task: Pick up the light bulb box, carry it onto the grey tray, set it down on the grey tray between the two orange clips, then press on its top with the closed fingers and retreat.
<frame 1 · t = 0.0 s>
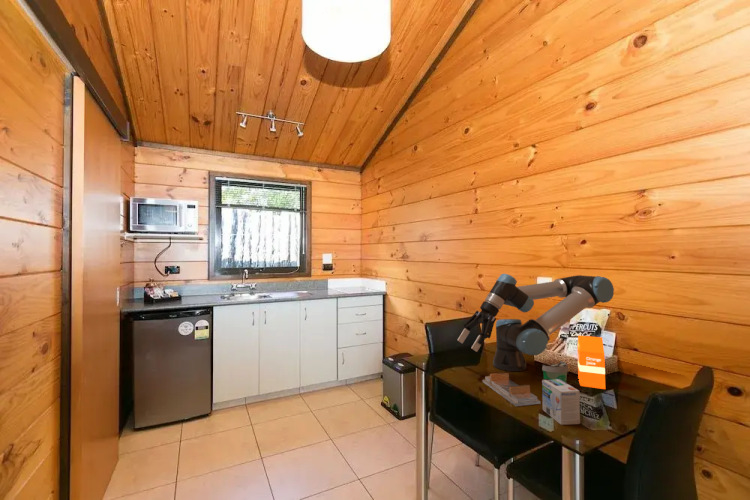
hand: (466, 345, 145), 15 cm above the table, tool tilted 35°, fingers open, 13 cm apart
orange juice: (591, 384, 139), on the table
food container: (559, 390, 134), on the table
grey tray: (509, 392, 132), on the table
light bulb box: (560, 417, 112), on the table
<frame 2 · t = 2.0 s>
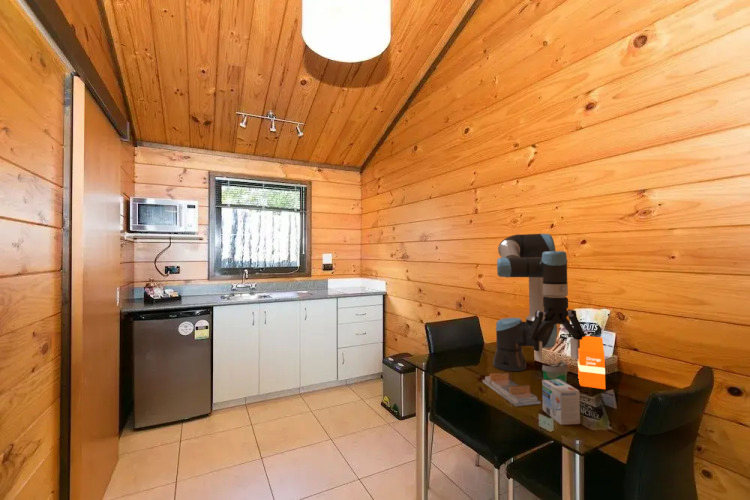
hand: (557, 359, 112), 19 cm above the table, tool pointing down, fingers open, 13 cm apart
nothing on the table moved.
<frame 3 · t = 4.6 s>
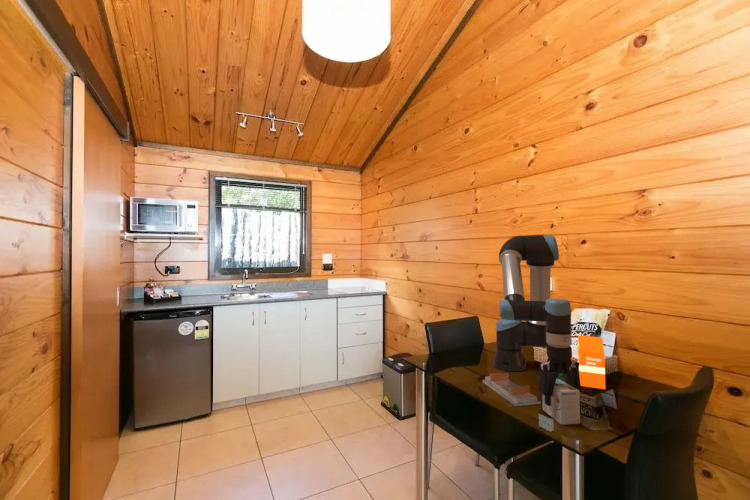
hand: (560, 413, 112), 1 cm above the table, tool pointing down, fingers closed on light bulb box, 7 cm apart
light bulb box: (560, 417, 112), on the table, touching gripper
everything else where it was.
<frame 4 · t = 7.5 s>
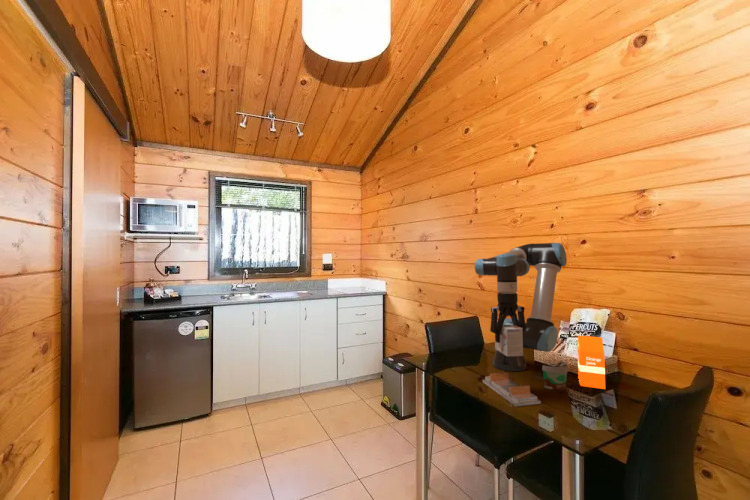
hand: (508, 349, 133), 17 cm above the table, tool pointing down, fingers closed on light bulb box, 7 cm apart
light bulb box: (508, 353, 133), point 16 cm above the table, touching gripper
everything else where it was.
when the fingers open (5 cm above the table, at t = 10.4 s): light bulb box drops 1 cm, resting on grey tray.
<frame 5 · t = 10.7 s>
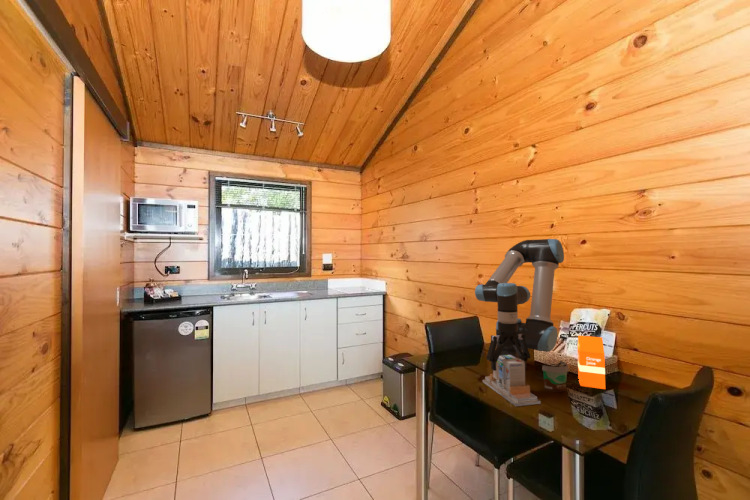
hand: (508, 377, 132), 6 cm above the table, tool pointing down, fingers open, 10 cm apart
light bulb box: (510, 386, 133), point 2 cm above the table, touching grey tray
everything else where it was.
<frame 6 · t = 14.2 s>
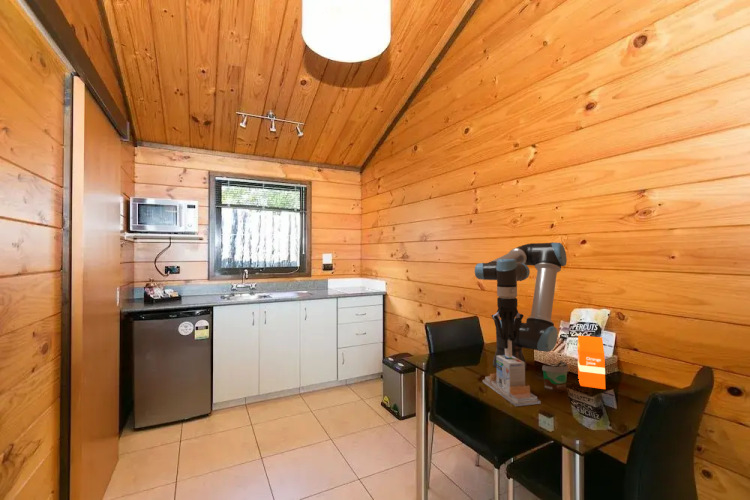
hand: (508, 356, 133), 14 cm above the table, tool pointing down, fingers closed
nothing on the table moved.
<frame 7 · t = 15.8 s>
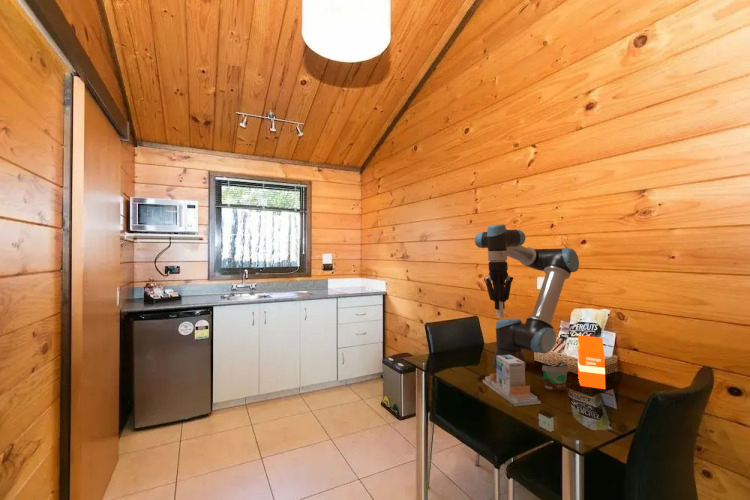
hand: (500, 317, 140), 29 cm above the table, tool pointing down, fingers closed
nothing on the table moved.
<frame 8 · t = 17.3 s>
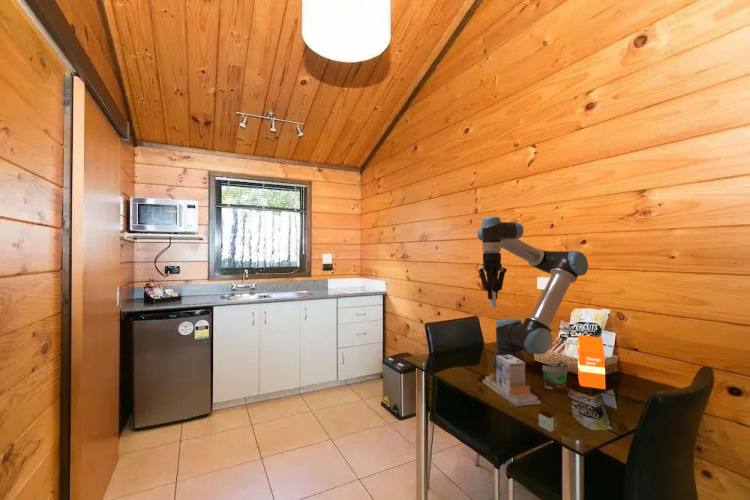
hand: (492, 306, 144), 32 cm above the table, tool pointing down, fingers closed
nothing on the table moved.
at the end: light bulb box inside the target area on the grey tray (0.7 cm from its centre), point 2.3 cm above the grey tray's base; light bulb box tilted 0°; the gripper is holding nothing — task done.
